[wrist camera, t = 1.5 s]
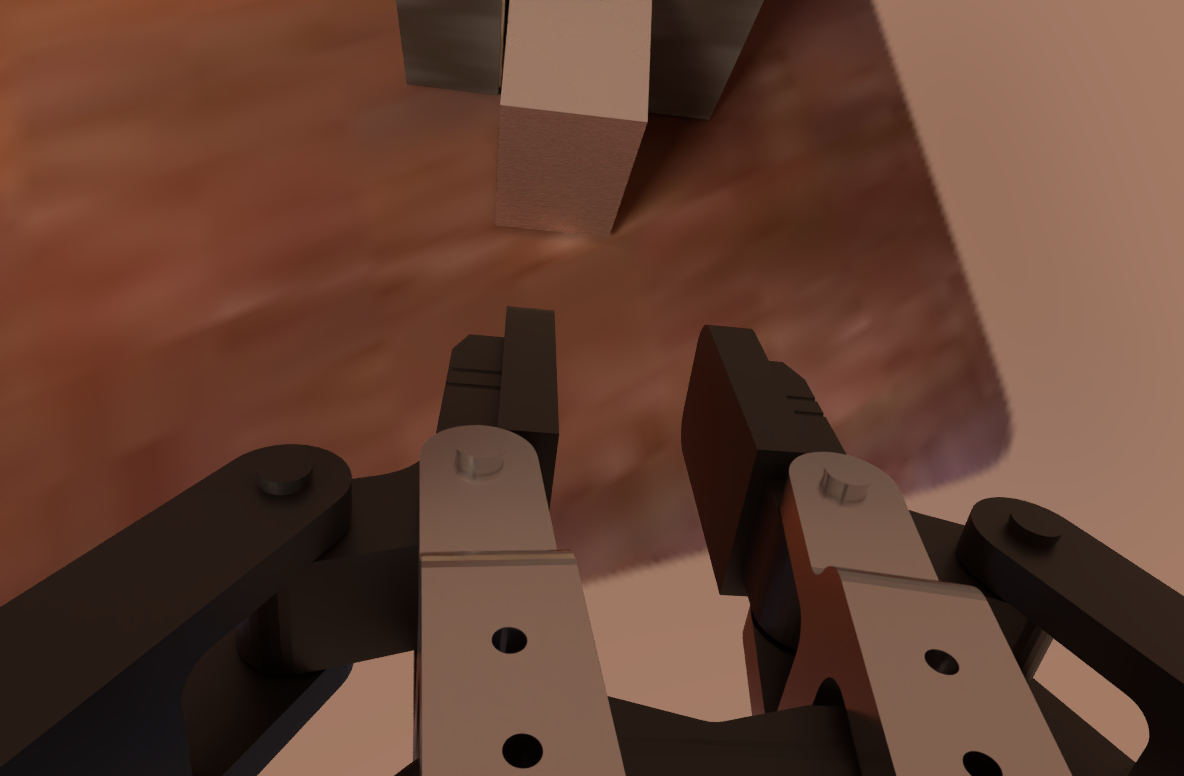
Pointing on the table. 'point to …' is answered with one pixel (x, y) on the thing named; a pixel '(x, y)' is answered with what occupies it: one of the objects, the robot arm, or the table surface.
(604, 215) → the peg
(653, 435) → the table surface
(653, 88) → the socket block
